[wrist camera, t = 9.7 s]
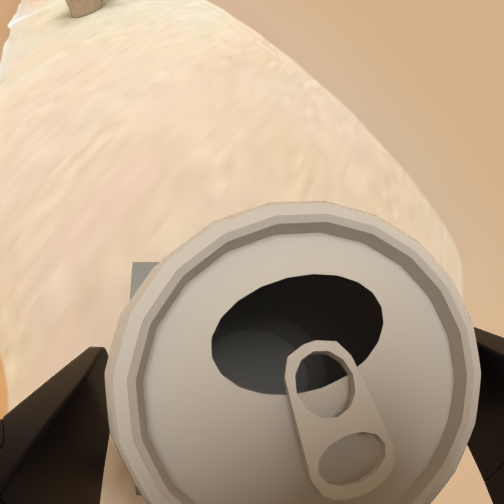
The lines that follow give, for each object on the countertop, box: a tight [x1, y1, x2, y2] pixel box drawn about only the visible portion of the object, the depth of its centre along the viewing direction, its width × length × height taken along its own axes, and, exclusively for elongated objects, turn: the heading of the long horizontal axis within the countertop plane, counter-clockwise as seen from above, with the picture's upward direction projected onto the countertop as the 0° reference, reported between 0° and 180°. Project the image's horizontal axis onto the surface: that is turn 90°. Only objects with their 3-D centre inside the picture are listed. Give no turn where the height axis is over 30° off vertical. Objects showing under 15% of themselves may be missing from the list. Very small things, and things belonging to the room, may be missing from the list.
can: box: [105, 201, 481, 504], centre depth 9 cm, size 8×8×12 cm
